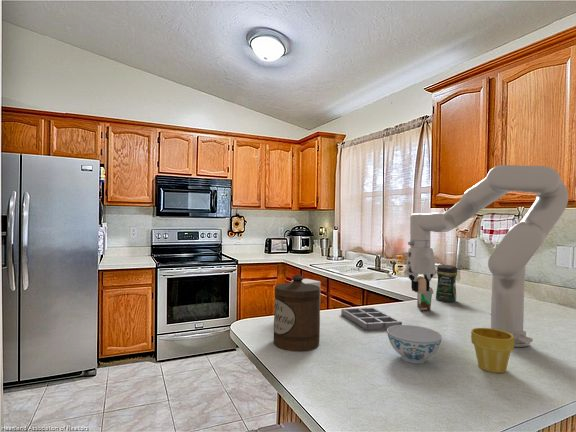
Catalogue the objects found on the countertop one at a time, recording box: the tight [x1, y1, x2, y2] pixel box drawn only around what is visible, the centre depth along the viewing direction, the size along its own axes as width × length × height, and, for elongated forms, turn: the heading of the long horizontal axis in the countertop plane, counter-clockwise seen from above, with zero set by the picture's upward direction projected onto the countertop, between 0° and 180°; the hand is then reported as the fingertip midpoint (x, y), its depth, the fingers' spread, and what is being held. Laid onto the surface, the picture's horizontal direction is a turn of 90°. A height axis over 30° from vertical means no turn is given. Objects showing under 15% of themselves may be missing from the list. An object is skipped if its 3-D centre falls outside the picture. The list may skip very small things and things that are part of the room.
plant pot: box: [470, 327, 515, 374], centre depth 98 cm, size 10×10×10 cm
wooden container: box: [273, 273, 321, 352], centre depth 114 cm, size 15×15×22 cm
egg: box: [416, 275, 426, 293], centre depth 140 cm, size 4×4×6 cm
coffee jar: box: [435, 264, 458, 303], centre depth 185 cm, size 10×8×19 cm
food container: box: [416, 286, 434, 312], centre depth 164 cm, size 12×6×10 cm, turn 168°
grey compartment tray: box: [340, 307, 403, 332], centre depth 142 cm, size 22×15×2 cm
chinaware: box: [386, 324, 443, 364], centre depth 104 cm, size 15×15×8 cm
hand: (420, 290), depth 140 cm, fingers closed on egg, 4 cm apart
